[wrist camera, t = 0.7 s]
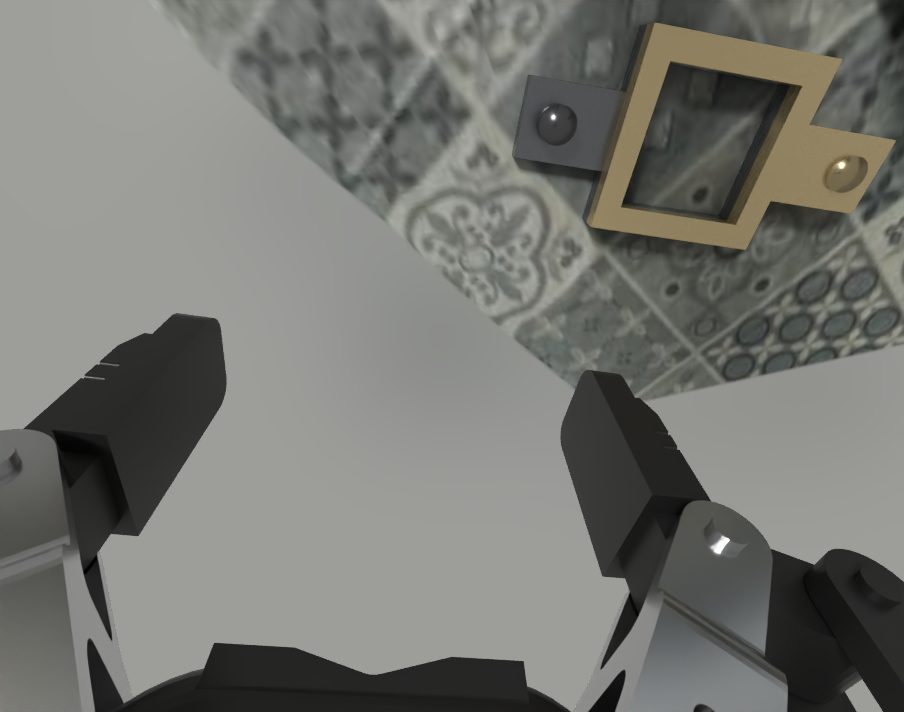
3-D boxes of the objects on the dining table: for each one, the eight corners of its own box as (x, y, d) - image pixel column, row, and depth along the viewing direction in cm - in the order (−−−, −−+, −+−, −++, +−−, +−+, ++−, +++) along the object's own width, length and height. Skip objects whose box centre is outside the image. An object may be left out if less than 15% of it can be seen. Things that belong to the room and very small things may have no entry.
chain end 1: (542, 6, 29) (551, 0, 26) (815, 60, 30) (847, 59, 28) (501, 205, 35) (505, 215, 33) (728, 240, 37) (748, 251, 35)
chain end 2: (640, 25, 29) (657, 21, 27) (902, 76, 31) (940, 77, 29) (582, 218, 36) (592, 228, 33) (802, 250, 38) (826, 263, 35)
